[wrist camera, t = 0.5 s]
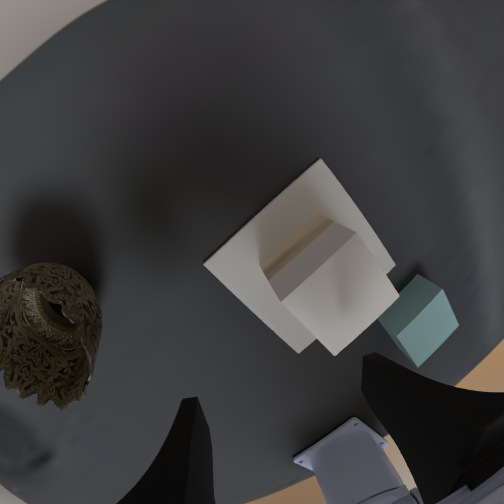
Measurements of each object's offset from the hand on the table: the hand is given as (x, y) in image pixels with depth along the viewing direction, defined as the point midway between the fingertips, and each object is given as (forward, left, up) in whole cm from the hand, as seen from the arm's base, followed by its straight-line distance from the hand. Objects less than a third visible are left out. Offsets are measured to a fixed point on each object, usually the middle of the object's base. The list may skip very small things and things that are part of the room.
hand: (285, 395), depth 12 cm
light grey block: (-1, -5, -7) cm, 8 cm away
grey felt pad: (-1, -5, -10) cm, 11 cm away
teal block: (-11, -9, -10) cm, 17 cm away
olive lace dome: (+9, +8, -10) cm, 16 cm away
